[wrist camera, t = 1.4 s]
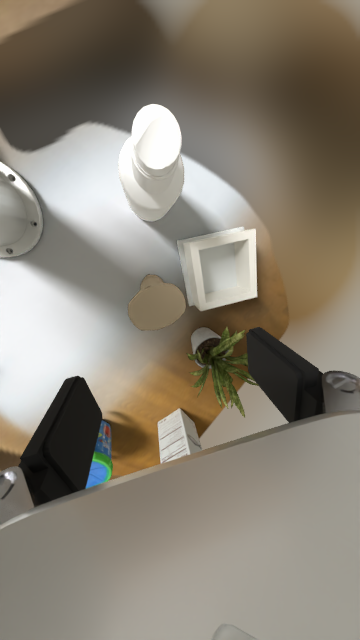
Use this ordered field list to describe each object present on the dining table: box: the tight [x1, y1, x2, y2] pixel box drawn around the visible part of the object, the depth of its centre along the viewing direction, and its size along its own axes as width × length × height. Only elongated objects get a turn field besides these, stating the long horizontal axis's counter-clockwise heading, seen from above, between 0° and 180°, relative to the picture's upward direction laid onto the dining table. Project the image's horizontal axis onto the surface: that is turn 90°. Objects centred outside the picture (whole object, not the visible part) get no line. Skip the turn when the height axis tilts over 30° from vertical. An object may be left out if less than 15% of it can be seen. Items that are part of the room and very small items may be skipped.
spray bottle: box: [118, 104, 184, 221], centre depth 21 cm, size 7×7×18 cm
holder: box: [177, 227, 257, 311], centre depth 32 cm, size 12×12×6 cm
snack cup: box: [86, 420, 113, 488], centre depth 40 cm, size 16×10×10 cm
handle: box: [128, 274, 186, 330], centre depth 27 cm, size 5×6×15 cm
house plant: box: [187, 327, 259, 417], centre depth 34 cm, size 14×14×16 cm
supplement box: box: [158, 408, 202, 464], centre depth 43 cm, size 7×7×13 cm
